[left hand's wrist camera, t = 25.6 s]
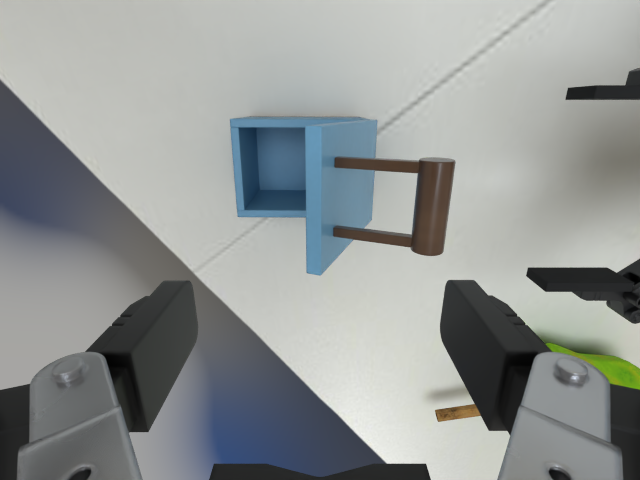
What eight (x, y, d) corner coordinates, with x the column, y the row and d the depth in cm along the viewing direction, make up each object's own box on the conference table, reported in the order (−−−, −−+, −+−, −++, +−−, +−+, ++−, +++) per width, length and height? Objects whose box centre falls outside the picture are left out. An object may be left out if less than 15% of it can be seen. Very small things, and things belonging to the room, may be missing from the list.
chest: (255, 194, 47) (237, 217, 37) (250, 116, 44) (229, 118, 34) (356, 194, 47) (366, 217, 37) (359, 116, 44) (371, 119, 34)
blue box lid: (306, 273, 25) (436, 297, 22) (304, 125, 21) (458, 128, 18) (361, 218, 37) (449, 229, 34) (366, 119, 33) (464, 121, 30)
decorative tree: (440, 397, 46) (687, 359, 43) (421, 347, 56) (622, 314, 53) (453, 490, 52) (672, 463, 49) (434, 430, 62) (615, 405, 59)
